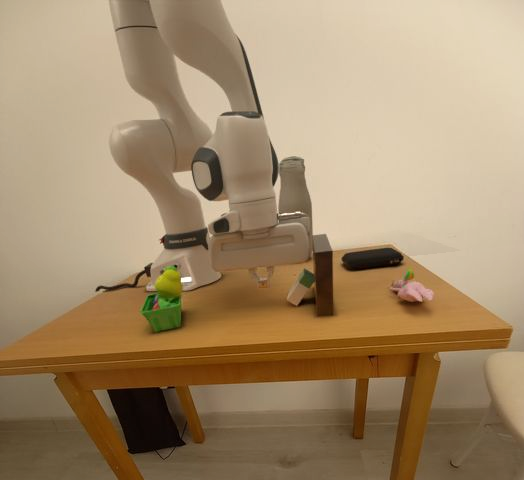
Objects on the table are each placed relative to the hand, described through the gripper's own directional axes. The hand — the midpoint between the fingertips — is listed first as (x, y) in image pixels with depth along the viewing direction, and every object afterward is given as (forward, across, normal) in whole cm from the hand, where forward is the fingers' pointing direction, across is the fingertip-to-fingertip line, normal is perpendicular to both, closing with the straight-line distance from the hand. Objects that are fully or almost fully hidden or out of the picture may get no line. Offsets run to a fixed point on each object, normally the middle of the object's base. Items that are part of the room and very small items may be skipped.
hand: (264, 287), depth 63 cm
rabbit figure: (+4, -28, +3) cm, 29 cm away
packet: (+4, -7, 0) cm, 9 cm away
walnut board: (+4, -12, 0) cm, 13 cm away
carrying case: (+4, -27, -23) cm, 36 cm away
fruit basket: (+4, +20, +5) cm, 21 cm away
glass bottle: (+4, -6, -36) cm, 37 cm away
